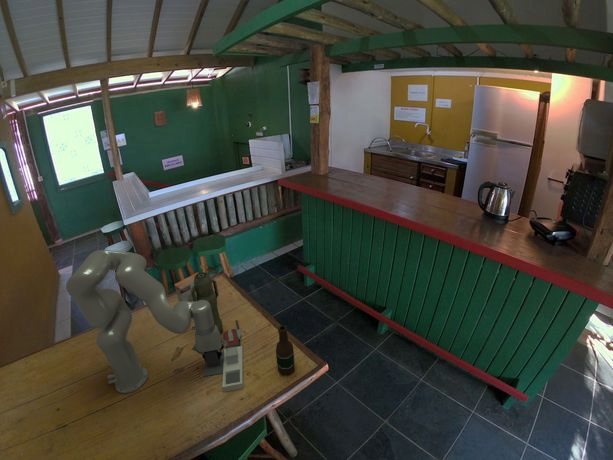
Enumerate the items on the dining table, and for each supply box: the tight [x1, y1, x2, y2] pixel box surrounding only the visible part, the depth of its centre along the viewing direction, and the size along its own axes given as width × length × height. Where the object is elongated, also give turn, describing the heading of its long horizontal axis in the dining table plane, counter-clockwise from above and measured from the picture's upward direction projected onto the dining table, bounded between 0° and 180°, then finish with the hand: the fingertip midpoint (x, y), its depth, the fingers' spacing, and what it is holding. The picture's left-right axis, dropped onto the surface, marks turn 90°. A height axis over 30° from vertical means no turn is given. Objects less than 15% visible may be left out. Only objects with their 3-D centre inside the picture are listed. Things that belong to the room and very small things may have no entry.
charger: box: [204, 350, 219, 366], centre depth 138 cm, size 5×5×8 cm
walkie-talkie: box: [222, 319, 243, 349], centre depth 154 cm, size 9×4×20 cm
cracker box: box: [174, 272, 199, 302], centre depth 169 cm, size 14×6×21 cm, turn 139°
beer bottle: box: [275, 325, 295, 376], centre depth 132 cm, size 8×8×24 cm
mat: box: [203, 350, 224, 378], centre depth 141 cm, size 8×12×1 cm, turn 11°
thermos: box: [191, 271, 224, 336], centre depth 150 cm, size 9×12×35 cm
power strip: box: [221, 345, 244, 393], centre depth 136 cm, size 8×20×8 cm, turn 11°
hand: (213, 357), depth 139 cm, fingers open, 5 cm apart
